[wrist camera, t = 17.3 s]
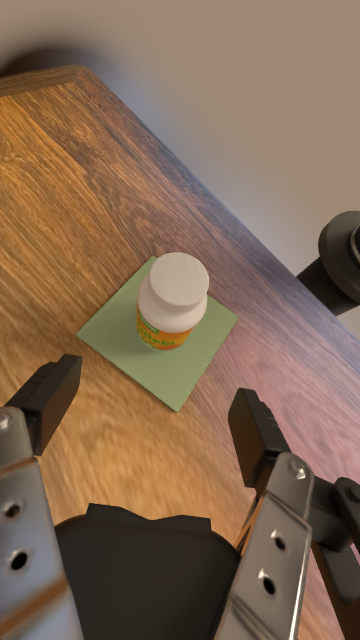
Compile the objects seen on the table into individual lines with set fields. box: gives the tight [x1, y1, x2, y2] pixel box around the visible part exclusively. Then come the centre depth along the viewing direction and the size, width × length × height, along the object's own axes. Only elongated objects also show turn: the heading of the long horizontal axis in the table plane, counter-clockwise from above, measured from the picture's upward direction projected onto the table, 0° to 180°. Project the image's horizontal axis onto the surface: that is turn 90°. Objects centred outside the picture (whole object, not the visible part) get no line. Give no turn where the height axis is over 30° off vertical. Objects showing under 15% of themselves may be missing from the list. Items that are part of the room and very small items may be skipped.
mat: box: [75, 256, 239, 412], centre depth 25 cm, size 12×12×1 cm
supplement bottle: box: [136, 252, 209, 352], centre depth 20 cm, size 5×5×10 cm
